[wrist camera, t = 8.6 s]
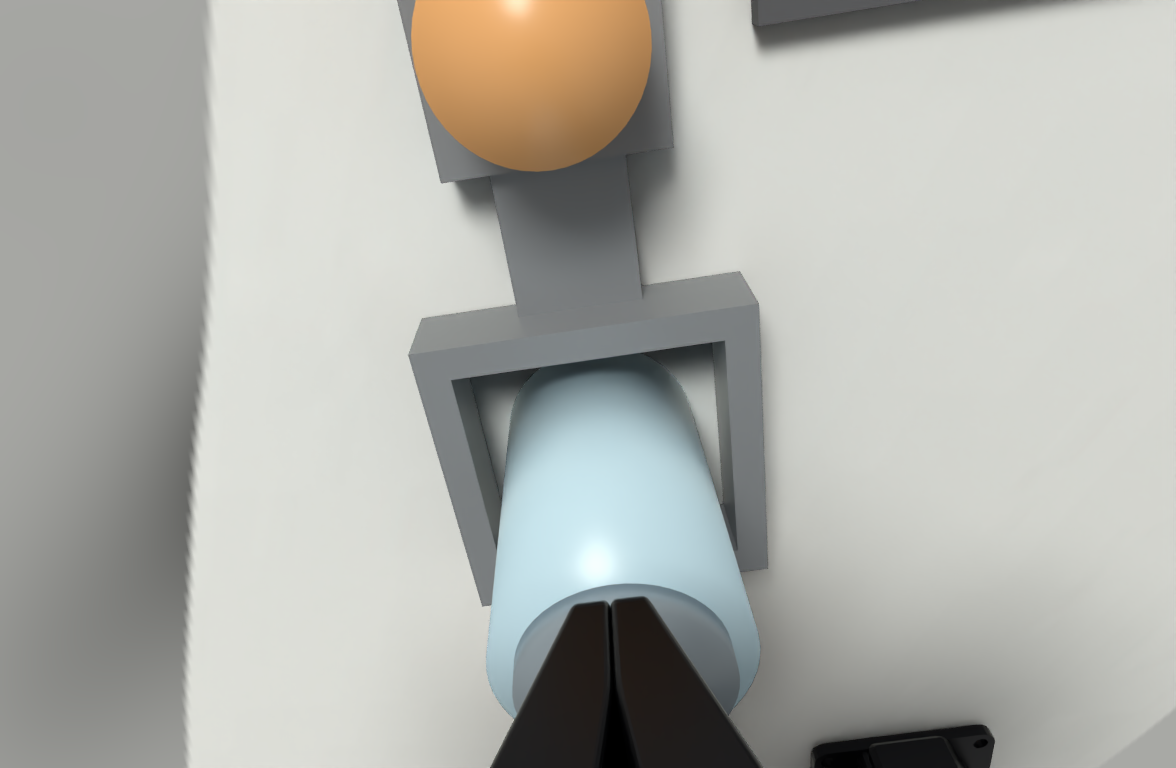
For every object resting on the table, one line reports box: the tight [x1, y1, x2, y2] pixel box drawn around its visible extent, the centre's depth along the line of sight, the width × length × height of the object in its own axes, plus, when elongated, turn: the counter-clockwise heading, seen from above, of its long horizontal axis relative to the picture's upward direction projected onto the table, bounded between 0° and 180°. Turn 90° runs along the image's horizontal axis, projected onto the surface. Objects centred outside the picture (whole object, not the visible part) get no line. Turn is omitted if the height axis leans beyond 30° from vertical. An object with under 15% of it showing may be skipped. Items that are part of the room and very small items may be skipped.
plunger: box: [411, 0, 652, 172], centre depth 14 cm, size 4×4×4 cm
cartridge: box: [486, 353, 760, 719], centre depth 17 cm, size 5×5×9 cm
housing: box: [397, 0, 768, 606], centre depth 20 cm, size 25×8×2 cm, turn 8°
